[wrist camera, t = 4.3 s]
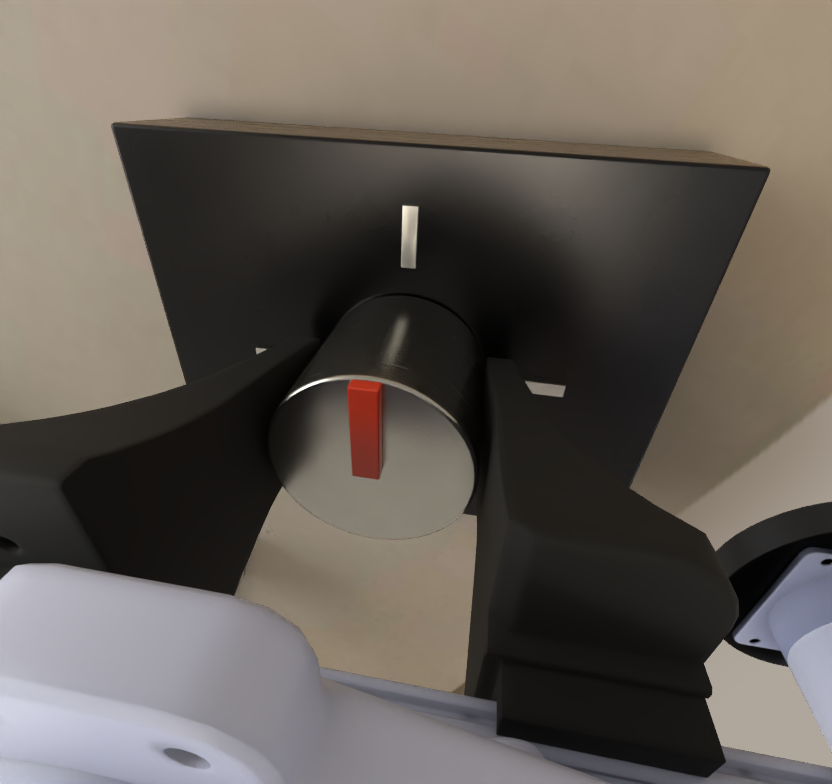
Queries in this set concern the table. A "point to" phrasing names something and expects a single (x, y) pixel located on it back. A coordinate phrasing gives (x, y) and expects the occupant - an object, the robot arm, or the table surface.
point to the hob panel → (446, 251)
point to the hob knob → (385, 422)
